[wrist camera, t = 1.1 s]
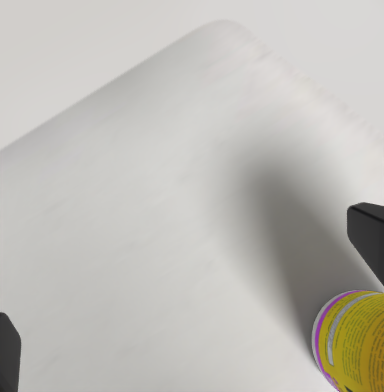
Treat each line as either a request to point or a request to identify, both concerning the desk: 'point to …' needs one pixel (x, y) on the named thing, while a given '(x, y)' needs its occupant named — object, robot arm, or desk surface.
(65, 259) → the desk surface
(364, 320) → the supplement bottle
